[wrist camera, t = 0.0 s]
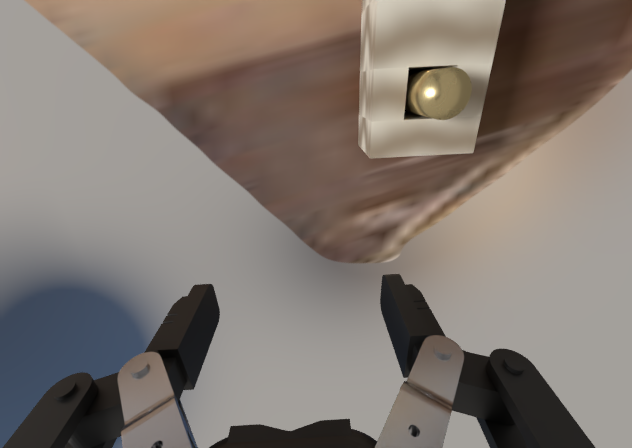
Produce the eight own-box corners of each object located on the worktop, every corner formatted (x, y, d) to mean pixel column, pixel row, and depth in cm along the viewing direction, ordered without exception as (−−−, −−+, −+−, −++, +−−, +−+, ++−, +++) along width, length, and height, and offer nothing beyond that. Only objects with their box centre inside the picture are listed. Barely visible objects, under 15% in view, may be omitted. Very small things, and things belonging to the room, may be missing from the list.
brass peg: (402, 71, 30) (426, 68, 24) (441, 69, 31) (476, 65, 24) (398, 114, 32) (420, 121, 26) (435, 112, 32) (466, 118, 26)
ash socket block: (364, -96, 28) (384, -158, 21) (481, -101, 28) (540, -164, 21) (358, 144, 39) (370, 158, 32) (442, 140, 39) (473, 153, 32)
